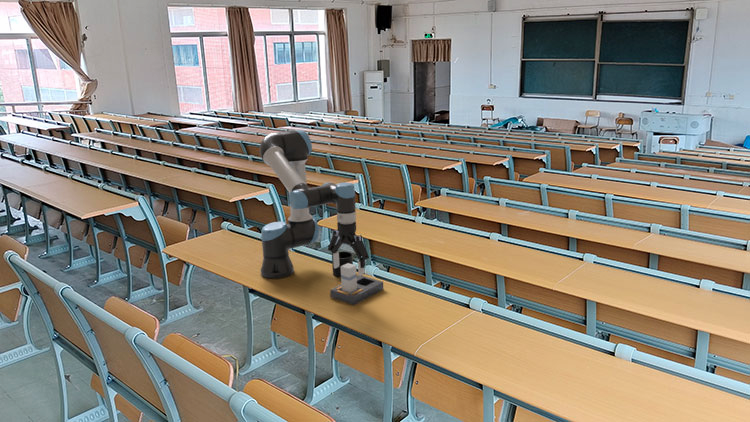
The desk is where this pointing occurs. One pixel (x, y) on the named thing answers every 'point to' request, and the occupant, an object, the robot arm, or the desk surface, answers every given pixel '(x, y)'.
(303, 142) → the robot arm
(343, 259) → the mug
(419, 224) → the desk surface
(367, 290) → the jack panel
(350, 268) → the plug
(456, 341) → the desk surface
